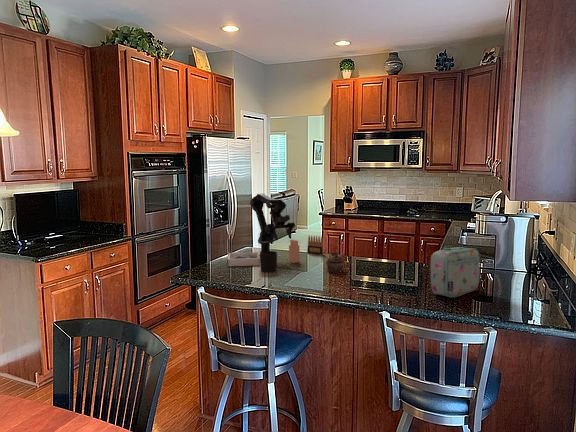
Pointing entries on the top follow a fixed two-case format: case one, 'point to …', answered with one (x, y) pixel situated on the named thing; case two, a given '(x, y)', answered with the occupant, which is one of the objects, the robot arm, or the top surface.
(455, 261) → the lunch box
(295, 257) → the post
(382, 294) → the top surface
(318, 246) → the ammunition clip
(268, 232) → the robot arm
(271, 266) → the pen holder
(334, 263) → the cupcake
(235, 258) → the tray
